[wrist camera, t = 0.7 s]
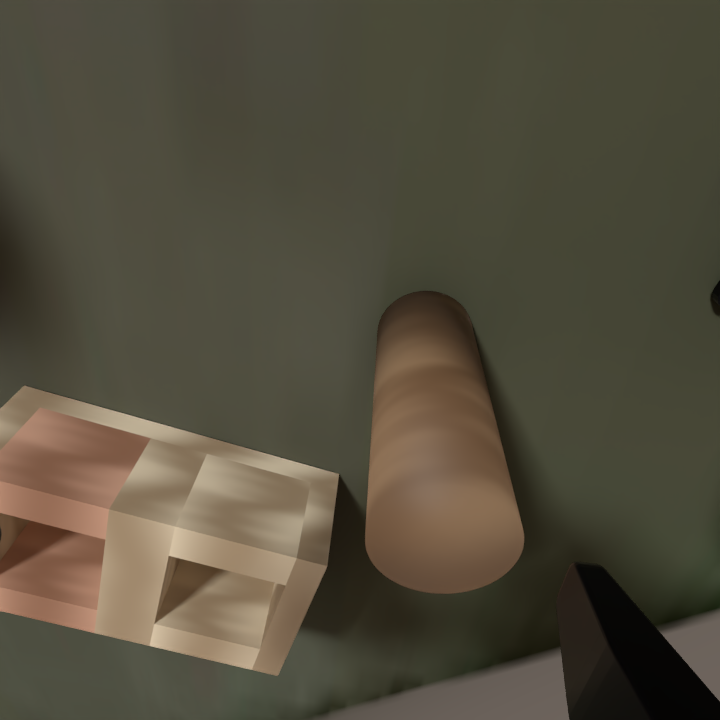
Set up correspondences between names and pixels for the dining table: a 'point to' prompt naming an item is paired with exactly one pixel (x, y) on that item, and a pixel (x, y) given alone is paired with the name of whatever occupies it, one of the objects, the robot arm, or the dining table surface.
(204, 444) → the bore block
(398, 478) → the dowel
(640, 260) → the dining table surface
